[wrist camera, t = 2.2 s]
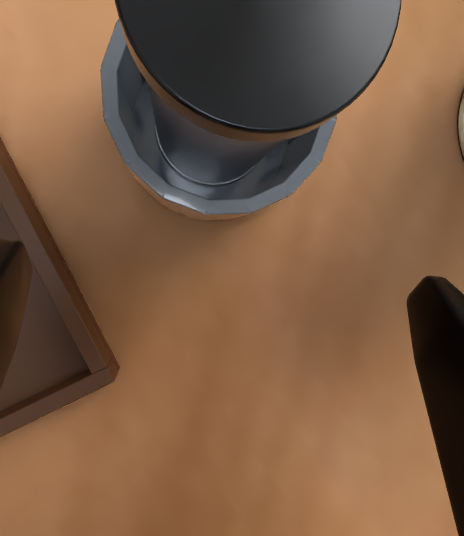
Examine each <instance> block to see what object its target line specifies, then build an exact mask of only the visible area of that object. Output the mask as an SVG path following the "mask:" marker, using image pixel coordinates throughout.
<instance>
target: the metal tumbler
mask: <svg viewBox="0 0 464 536" xmlns="http://www.w3.org/2000/svg"><path fill="white" fill-rule="evenodd" d="M115 4H116V8H117V12H118V16H119V20H120V23H121V27H122V31H123V35H124V38H125V41H126V43H127V46H128V48H129V51H130V53H131V56H132V57H133V59H134V61H135V63H136V65H137V67H138V69H139V71H140V72H141V74H142V75H143V76H144V78H145V79H146V81H147V82H148V84H149V89H150V95H151V100H152V106H153V112H154V118H155V126H154V127H155V135H156V140H157V144H158V147H159V149H160V152H161V154H162V156H163V157H164V159H165V161H166V162H167V163H168V165H169V166H170V167H171V168H172V169H173V170H174V171H175V172H176V173H177V174H178V175H180V176H181V177H183V178H184V179H186V180H188V181H190V182H192V183H195V184H198V185H202V186H209V187H217V186H224V185H229V184H231V183H234V182H236V181H238V180H240V179H242V178H243V177H245V176H246V175H247V174H249V173H250V172H251V171H252V170H253V169H254V168H255V167H256V165H257V164H258V163H259V161H260V160H261V159H263V158H264V157H265V156H266V155H267V154H268V153H269V152H270V151H272V150H273V149H274V148H275V147H276V146H277V145H278V144H279V143H281V142H282V141H283V140H286V139H290V138H294V137H297V136H300V135H302V134H305V133H308V132H310V131H312V130H314V129H316V128H318V127H319V126H321V125H323V124H324V123H326V122H327V121H329V120H330V119H331V118H333V117H334V116H336V115H337V114H338V113H340V112H341V111H342V110H344V109H345V108H346V107H348V106H349V105H350V104H351V103H352V102H353V101H354V100H356V99H357V98H358V97H359V96H360V95H361V94H362V93H363V92H364V91H365V89H366V88H367V87H368V86H369V84H370V83H371V82H372V81H373V79H374V78H375V76H376V75H377V73H378V72H379V70H380V68H381V67H382V65H383V63H384V61H385V59H386V57H387V55H388V52H389V50H390V48H391V46H392V42H393V39H394V36H395V33H396V29H397V26H398V20H399V15H400V9H401V0H115Z"/></svg>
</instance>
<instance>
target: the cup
mask: <svg viewBox="0 0 464 536" xmlns="http://www.w3.org/2000/svg"><path fill="white" fill-rule="evenodd" d="M100 71H101V87H102V103H103V117H104V121H105V123H106V125H107V127H108V129H109V131H110V133H111V136H112V138H113V140H114V142H115V144H116V146H117V148H118V150H119V152H120V154H121V156H122V159H123V161H124V163H125V164H126V166H127V167H128V169H129V170H130V172H131V173H132V174H133V176H134V177H135V179H136V180H137V181H138V183H139V184H140V185H141V186H142V187H143V188H144V189H145V190H147V191H148V192H149V193H150V194H151V195H152V196H153V197H154V198H155V199H156V200H157V201H158V202H160V203H161V204H162V205H163V206H164V207H166V208H168V209H170V210H173V211H176V212H178V213H180V214H183V215H186V216H189V217H192V218H194V219H197V220H198V219H199V220H218V219H233V218H237V217H240V216H244V215H247V214H251V213H253V212H256V211H258V210H260V209H262V208H264V207H266V206H269V205H271V204H273V203H275V202H277V201H279V200H282V199H284V198H286V197H288V196H290V195H291V194H293V193H294V191H295V190H296V189H297V188H298V187H299V186H300V185H301V184H302V183H303V182H304V180H305V179H306V178H307V177H308V176H309V175H310V174H311V173H312V172H313V171H314V170H315V168H316V167H317V166H318V165H319V164H320V162H321V161H322V158H323V156H324V153H325V150H326V147H327V145H328V142H329V139H330V137H331V134H332V131H333V129H334V126H335V123H336V119H337V115H336V116H334V117H333V118H331V119H330V120H329V121H327V122H326V123H324V124H323V125H321V126H319V127H318V128H316V129H314V130H312V131H310V132H308V133H305V134H302V135H300V136H297V137H294V138H290V139H286V140H283V141H282V142H281V143H279V144H278V145H277V146H276V147H275V148H274V149H273V150H272V151H270V152H269V153H268V154H267V155H266V156H265V157H264V158H263V159H261V160H260V161H259V163H258V164H257V165H256V167H255V168H254V169H253V170H252V171H251V172H250V173H249V174H247V175H246V176H245V177H243V178H242V179H240V180H238V181H236V182H234V183H231V184H229V185H224V186H217V187H209V186H202V185H198V184H195V183H192V182H190V181H188V180H186V179H184V178H183V177H181V176H180V175H178V174H177V173H176V172H175V171H174V170H173V169H172V168H171V167H170V166H169V165H168V163H167V162H166V161H165V159H164V157H163V156H162V154H161V152H160V149H159V147H158V144H157V140H156V135H155V127H154V126H155V118H154V112H153V106H152V100H151V95H150V89H149V84H148V82H147V81H146V79H145V78H144V76H143V75H142V74H141V72H140V71H139V69H138V67H137V65H136V63H135V61H134V59H133V57H132V56H131V53H130V51H129V48H128V46H127V43H126V41H125V38H124V35H123V31H122V27H121V23H120V20H119V19H118V21H117V22H116V25H115V28H114V31H113V33H112V36H111V39H110V42H109V45H108V48H107V50H106V53H105V56H104V59H103V62H102V65H101V70H100Z"/></svg>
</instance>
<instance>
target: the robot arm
mask: <svg viewBox="0 0 464 536" xmlns="http://www.w3.org/2000/svg"><path fill="white" fill-rule="evenodd" d="M32 273H33V272H32V265H31V262H30V259H29V256H28V253H27V250H26V247H25V244H24V243H23V242H22V241H20V240H10V239H0V391H1V388H2V385H3V382H4V379H5V377H6V374H7V371H8V368H9V365H10V363H11V360H12V357H13V354H14V351H15V348H16V345H17V342H18V338H19V334H20V330H21V325H22V321H23V316H24V312H25V307H26V303H27V298H28V293H29V289H30V284H31V280H32ZM407 311H408V318H409V325H410V332H411V339H412V347H413V353H414V359H415V364H416V369H417V373H418V377H419V381H420V385H421V389H422V393H423V396H424V400H425V404H426V408H427V412H428V416H429V420H430V424H431V428H432V432H433V436H434V440H435V444H436V448H437V452H438V456H439V460H440V464H441V468H442V472H443V476H444V480H445V484H446V487H447V491H448V495H449V499H450V503H451V507H452V511H453V515H454V519H455V523H456V527H457V531H458V535H459V536H464V294H463V293H461V292H460V291H459V290H458V289H457V288H456V287H455V286H454V285H453V284H451V283H450V282H449V281H448V280H447V279H446V278H443V277H438V276H426V277H424V278H423V279H422V280H421V281H420V283H419V284H418V285H417V286H416V287H415V288H414V290H413V291H412V292H411V293H410V294H409V296H408V298H407Z"/></svg>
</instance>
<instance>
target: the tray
mask: <svg viewBox="0 0 464 536" xmlns="http://www.w3.org/2000/svg"><path fill="white" fill-rule="evenodd" d="M0 239H10V240H20V241H22V242H23V243H24V244H25V247H26V250H27V253H28V256H29V259H30V262H31V265H32V272H33V273H32V280H31V284H30V289H29V293H28V298H27V303H26V307H25V312H24V316H23V321H22V325H21V330H20V334H19V338H18V342H17V345H16V348H15V351H14V354H13V357H12V360H11V363H10V365H9V368H8V371H7V374H6V377H5V379H4V382H3V385H2V388H1V391H0V437H1V436H3V435H5V434H7V433H9V432H11V431H14V430H16V429H18V428H20V427H22V426H24V425H26V424H28V423H30V422H32V421H34V420H36V419H38V418H40V417H42V416H44V415H46V414H48V413H50V412H52V411H54V410H56V409H59V408H61V407H63V406H65V405H67V404H69V403H71V402H73V401H75V400H77V399H79V398H81V397H83V396H85V395H87V394H89V393H91V392H93V391H95V390H97V389H99V388H102V387H104V386H106V385H108V384H110V383H112V382H114V380H115V378H116V375H117V373H118V370H119V368H120V367H119V365H118V363H117V361H116V359H115V357H114V355H113V354H112V352H111V350H110V348H109V346H108V344H107V342H106V340H105V338H104V336H103V334H102V332H101V330H100V329H99V327H98V325H97V323H96V321H95V319H94V317H93V315H92V313H91V311H90V309H89V307H88V305H87V304H86V302H85V300H84V298H83V296H82V294H81V292H80V290H79V288H78V286H77V284H76V282H75V280H74V279H73V277H72V275H71V273H70V271H69V269H68V267H67V265H66V263H65V261H64V259H63V257H62V255H61V254H60V252H59V250H58V248H57V246H56V244H55V242H54V240H53V238H52V236H51V234H50V232H49V231H48V229H47V227H46V225H45V223H44V221H43V219H42V217H41V215H40V213H39V211H38V209H37V207H36V206H35V204H34V202H33V200H32V198H31V196H30V194H29V192H28V190H27V188H26V186H25V184H24V182H23V181H22V179H21V177H20V175H19V173H18V171H17V169H16V167H15V165H14V163H13V161H12V159H11V157H10V156H9V154H8V152H7V150H6V148H5V146H4V144H3V142H2V140H1V138H0Z"/></svg>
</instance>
